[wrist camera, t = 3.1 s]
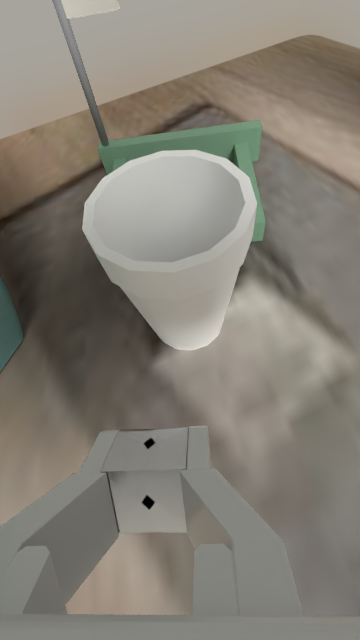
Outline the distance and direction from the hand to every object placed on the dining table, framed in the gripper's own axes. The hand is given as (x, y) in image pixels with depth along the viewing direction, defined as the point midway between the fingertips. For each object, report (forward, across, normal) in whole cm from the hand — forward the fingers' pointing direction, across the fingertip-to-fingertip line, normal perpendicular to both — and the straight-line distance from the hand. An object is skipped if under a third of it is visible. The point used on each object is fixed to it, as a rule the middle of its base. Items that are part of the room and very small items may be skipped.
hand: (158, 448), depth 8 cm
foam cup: (+20, 0, +2) cm, 20 cm away
